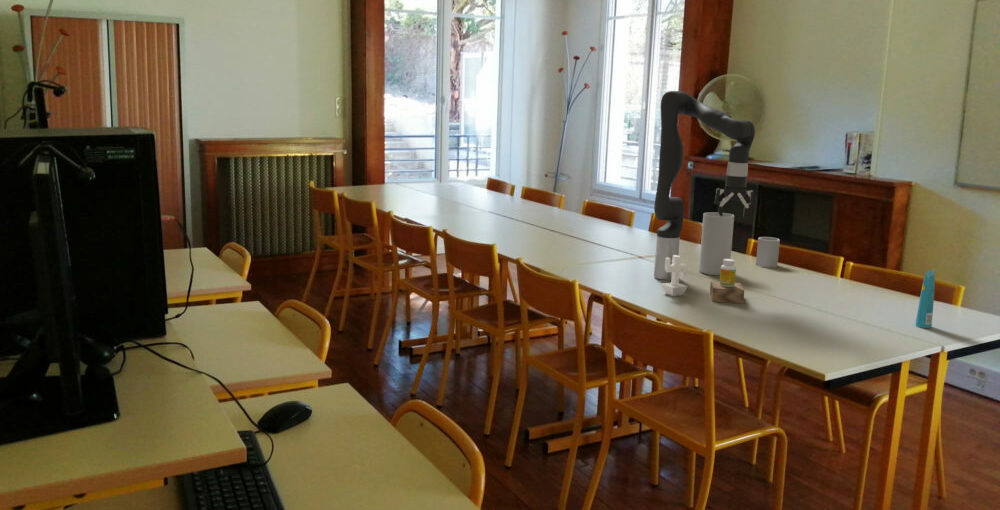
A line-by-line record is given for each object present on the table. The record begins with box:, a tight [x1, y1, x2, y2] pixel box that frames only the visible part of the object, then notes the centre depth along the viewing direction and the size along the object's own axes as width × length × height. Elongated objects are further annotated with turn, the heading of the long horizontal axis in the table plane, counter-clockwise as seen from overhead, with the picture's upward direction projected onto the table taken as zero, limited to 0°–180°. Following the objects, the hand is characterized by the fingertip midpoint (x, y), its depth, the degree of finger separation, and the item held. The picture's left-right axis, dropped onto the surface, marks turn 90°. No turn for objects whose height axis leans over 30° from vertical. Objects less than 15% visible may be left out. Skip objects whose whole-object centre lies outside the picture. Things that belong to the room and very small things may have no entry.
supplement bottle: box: [719, 258, 737, 287], centre depth 308 cm, size 5×5×10 cm
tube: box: [915, 269, 936, 329], centre depth 277 cm, size 7×5×19 cm, turn 140°
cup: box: [755, 236, 781, 269], centre depth 370 cm, size 9×9×12 cm
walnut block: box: [709, 281, 745, 304], centre depth 309 cm, size 11×11×5 cm
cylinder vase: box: [698, 211, 735, 277], centre depth 351 cm, size 12×12×25 cm
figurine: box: [661, 255, 689, 297], centre depth 313 cm, size 7×9×15 cm
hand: (732, 216), depth 314 cm, fingers open, 8 cm apart
